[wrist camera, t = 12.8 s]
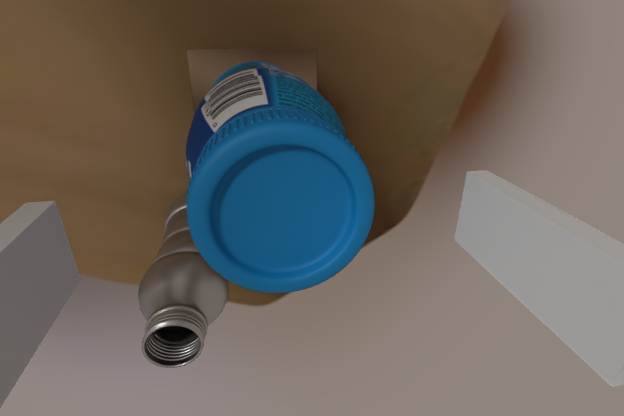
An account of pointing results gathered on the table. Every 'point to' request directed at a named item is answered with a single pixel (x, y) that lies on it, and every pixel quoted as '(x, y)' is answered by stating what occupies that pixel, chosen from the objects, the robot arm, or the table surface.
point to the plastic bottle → (179, 295)
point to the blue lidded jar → (274, 182)
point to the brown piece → (216, 61)
